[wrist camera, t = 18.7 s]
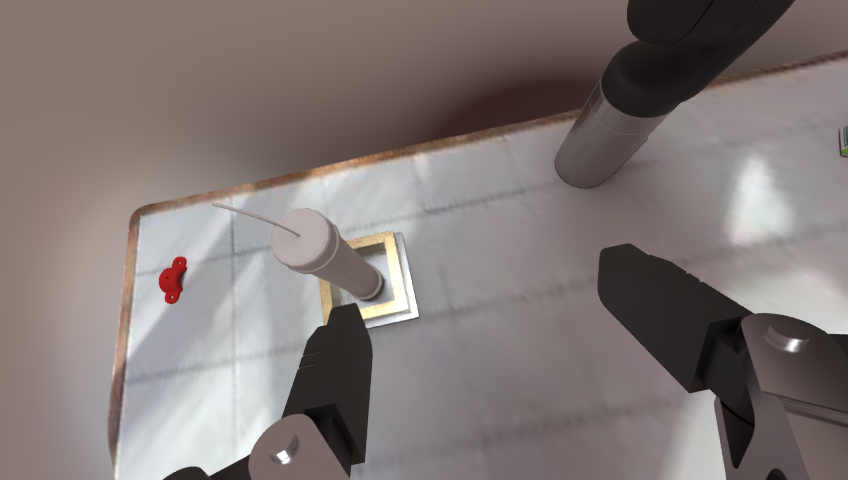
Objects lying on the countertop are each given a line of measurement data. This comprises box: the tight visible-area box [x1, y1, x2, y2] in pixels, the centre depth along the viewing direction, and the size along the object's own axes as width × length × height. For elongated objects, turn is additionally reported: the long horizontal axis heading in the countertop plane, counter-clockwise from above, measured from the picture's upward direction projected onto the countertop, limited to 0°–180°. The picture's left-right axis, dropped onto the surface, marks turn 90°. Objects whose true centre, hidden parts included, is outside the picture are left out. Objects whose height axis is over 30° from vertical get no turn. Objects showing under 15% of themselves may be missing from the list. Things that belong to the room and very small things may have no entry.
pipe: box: [212, 203, 384, 300], centre depth 35 cm, size 6×6×30 cm
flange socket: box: [319, 231, 419, 329], centre depth 48 cm, size 14×14×5 cm
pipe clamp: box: [159, 257, 187, 304], centre depth 52 cm, size 8×3×2 cm, turn 2°
